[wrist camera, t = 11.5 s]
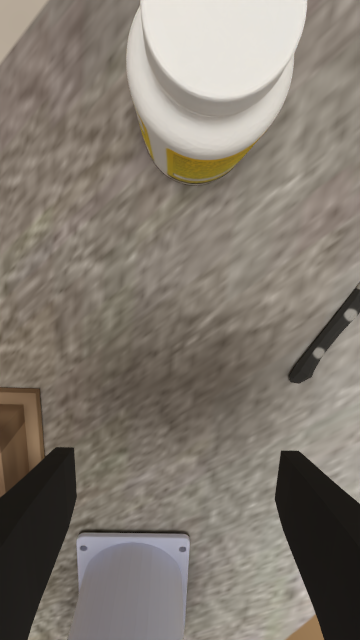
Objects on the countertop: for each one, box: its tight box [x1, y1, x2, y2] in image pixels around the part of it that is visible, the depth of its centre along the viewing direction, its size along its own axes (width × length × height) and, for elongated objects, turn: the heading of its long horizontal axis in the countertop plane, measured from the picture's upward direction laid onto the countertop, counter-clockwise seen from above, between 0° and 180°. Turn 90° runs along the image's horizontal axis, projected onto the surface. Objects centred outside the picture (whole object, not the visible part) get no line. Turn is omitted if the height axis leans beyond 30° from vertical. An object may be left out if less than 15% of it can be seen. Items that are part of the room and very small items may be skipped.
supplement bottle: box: [126, 0, 307, 185], centre depth 12 cm, size 5×5×10 cm
